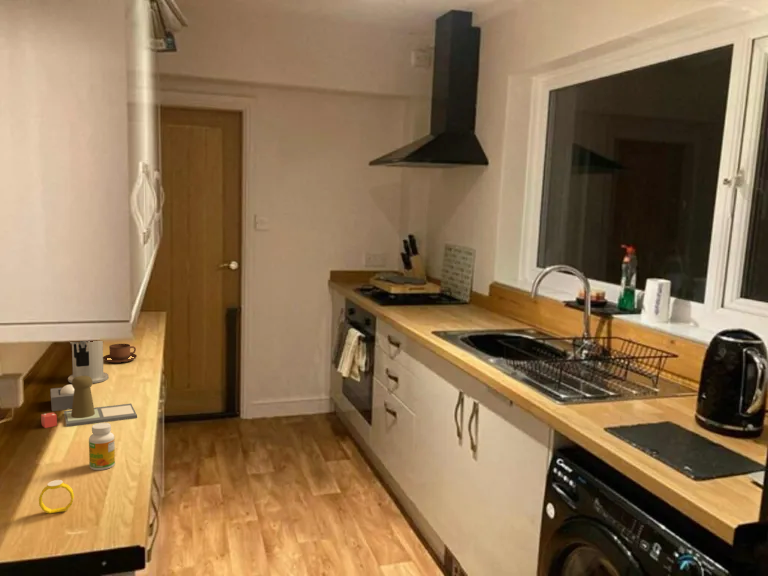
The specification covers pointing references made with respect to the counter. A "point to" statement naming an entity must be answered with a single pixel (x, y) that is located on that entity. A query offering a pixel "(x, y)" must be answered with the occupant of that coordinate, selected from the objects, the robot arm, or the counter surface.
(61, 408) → the gray square holder
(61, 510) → the watch
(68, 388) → the cream white ball
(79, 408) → the brown pepper mill
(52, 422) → the red die
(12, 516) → the counter surface
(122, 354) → the cup and saucer
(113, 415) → the game board
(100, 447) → the supplement bottle
